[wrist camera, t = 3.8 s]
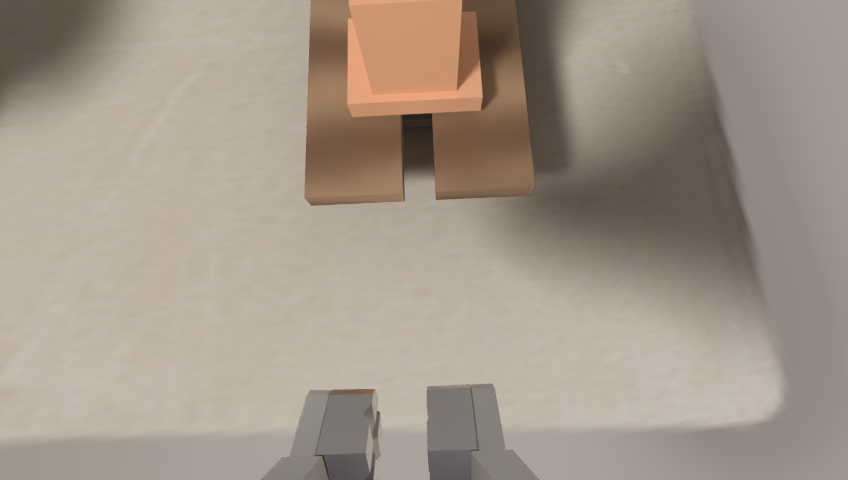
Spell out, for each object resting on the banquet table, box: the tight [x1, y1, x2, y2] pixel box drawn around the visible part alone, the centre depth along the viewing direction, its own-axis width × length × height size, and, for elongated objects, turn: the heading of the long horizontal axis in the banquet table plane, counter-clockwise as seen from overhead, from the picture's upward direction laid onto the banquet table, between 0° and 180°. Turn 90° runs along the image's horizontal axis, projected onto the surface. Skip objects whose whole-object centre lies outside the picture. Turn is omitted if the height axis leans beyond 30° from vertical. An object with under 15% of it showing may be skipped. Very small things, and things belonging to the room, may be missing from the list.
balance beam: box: [305, 0, 535, 206], centre depth 35 cm, size 32×16×9 cm, turn 2°
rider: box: [347, 0, 483, 117], centre depth 25 cm, size 6×8×10 cm
